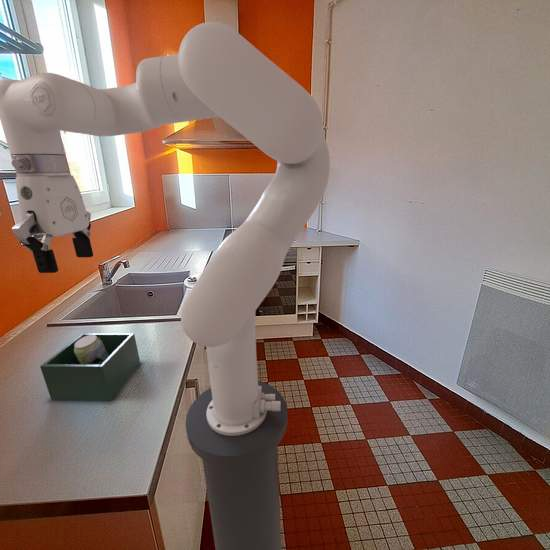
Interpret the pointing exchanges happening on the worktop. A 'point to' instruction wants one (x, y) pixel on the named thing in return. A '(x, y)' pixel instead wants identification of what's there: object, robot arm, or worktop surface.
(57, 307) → the worktop surface
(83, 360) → the beverage can
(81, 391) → the waste bin
